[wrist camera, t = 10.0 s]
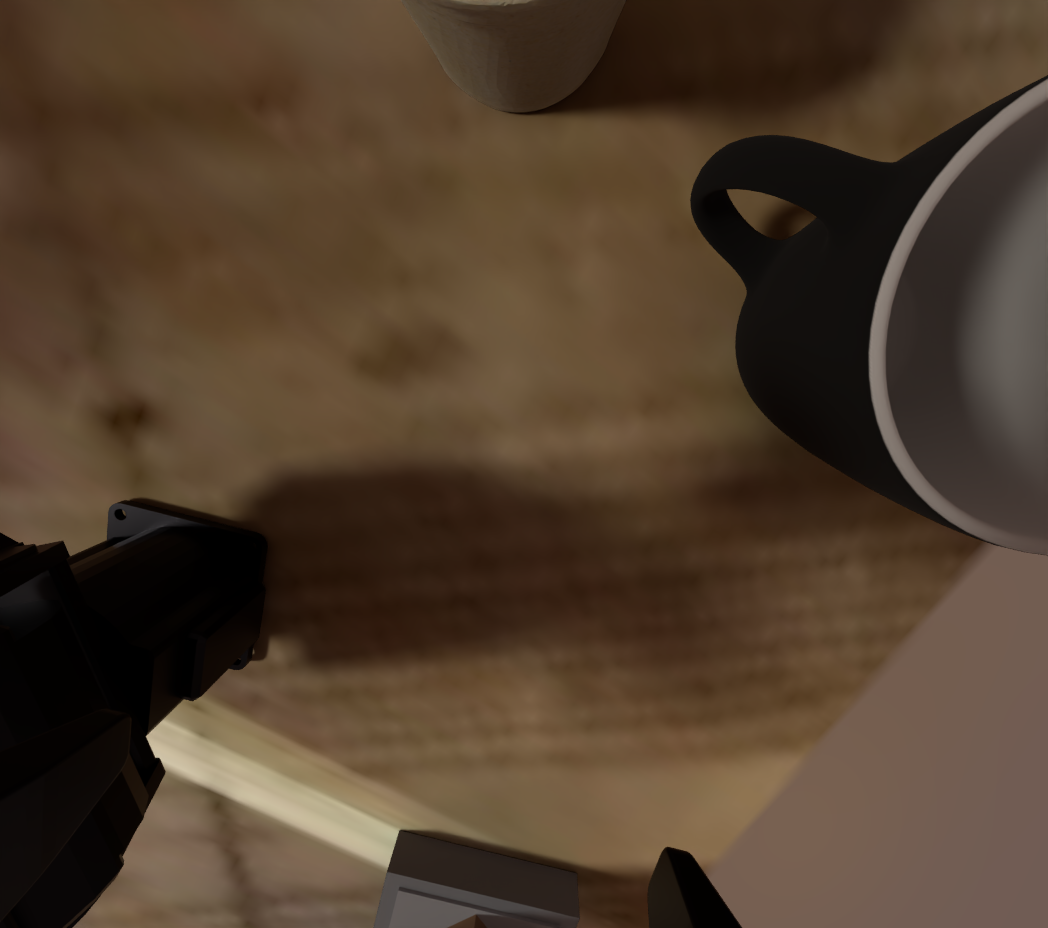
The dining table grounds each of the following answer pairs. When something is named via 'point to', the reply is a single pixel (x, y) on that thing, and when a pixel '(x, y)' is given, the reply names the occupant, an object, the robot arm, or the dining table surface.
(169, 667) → the robot arm
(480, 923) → the brown tall rectangular block
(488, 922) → the slate base
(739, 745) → the dining table surface
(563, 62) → the flower pot
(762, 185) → the mug
